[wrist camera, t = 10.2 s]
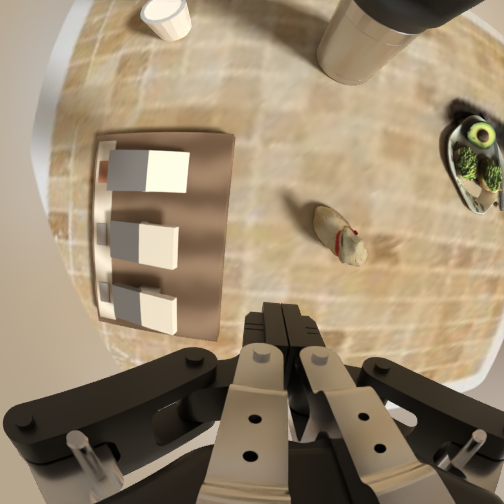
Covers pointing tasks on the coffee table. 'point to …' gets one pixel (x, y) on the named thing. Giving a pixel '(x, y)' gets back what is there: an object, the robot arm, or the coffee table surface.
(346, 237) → the chocolate bunny
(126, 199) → the switch console
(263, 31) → the coffee table surface
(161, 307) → the rocker
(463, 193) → the salad plate
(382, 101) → the coffee table surface
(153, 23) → the white tapered cup
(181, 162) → the rocker
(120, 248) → the rocker mid
